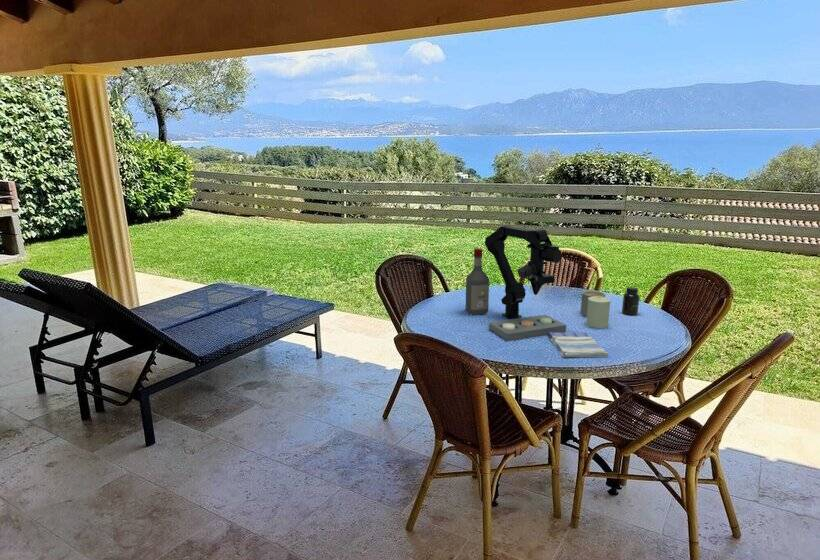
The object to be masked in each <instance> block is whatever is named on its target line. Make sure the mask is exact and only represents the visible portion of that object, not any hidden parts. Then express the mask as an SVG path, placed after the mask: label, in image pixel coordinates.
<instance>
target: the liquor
mask: <svg viewBox="0 0 820 560" xmlns="http://www.w3.org/2000/svg"><path fill="white" fill-rule="evenodd" d="M473 258H474V259H473V268H472V269H473V270H472V271H471V272H470V273H469V274H468V275H467V276H466V279H465V312H466V311H467V312H468V313H467V312H466V313H467V314H469V313H470V314H469V315H471V314H472V315H471V316H475V315H478V316H482V315H481V314H485V315H486V313H487V314H488V312H489V304H490V303H489V297H490V295H489V294H490V278H489V276H488V275H487V274H486V272H485V271H484V270H483V267H482V266H483V263H482V262H483V248H474V249H473Z"/></svg>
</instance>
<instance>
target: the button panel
mask: <svg viewBox="0 0 820 560" xmlns="http://www.w3.org/2000/svg"><path fill="white" fill-rule="evenodd" d="M540 318H550V319H552V323H549V324H542V323H540ZM524 320H529V321H532V322H534V324H533V326H529V327H524V326H522V325H521V322H522V321H524ZM504 323H512V324H514V325H515V329H509V330H505V329H504V328H502V326H503V324H504ZM489 329H490V330H489ZM488 330H489V331H491V332H492V331H493V333H494V334H495V333H496V334H495V335H497V336H498V335H499V336H498V337H500V338H502V339H503V340H505V341H506V342H510V341H517V340H522V339H530V338H536V337H542V336H548V333H549V332H553V333H563V332H567V324H566V323H563V322H561V321H560V320H557V319H555V318H553V317H551V316H549V315H547V314H541V315H533V316H532V315H531V316H526V317H518V318H511V319H505V320H504V319H503V320H498V321H490V322H488Z"/></svg>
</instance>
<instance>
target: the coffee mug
mask: <svg viewBox="0 0 820 560" xmlns="http://www.w3.org/2000/svg"><path fill="white" fill-rule="evenodd" d="M592 296H601V297H606V293H605V292H603V291H600V290H591V289H590V290H584V291H582V292H581V303H580V315H581V314H582V315H581V316H583V317H586V318H587V311H588V298H589V297H592Z"/></svg>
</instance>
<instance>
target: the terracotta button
mask: <svg viewBox="0 0 820 560" xmlns="http://www.w3.org/2000/svg"><path fill="white" fill-rule="evenodd" d="M533 324H534V322H532V321H529V320H524V321H522V322H521V325H522V326H524V327H529V326H533Z"/></svg>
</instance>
